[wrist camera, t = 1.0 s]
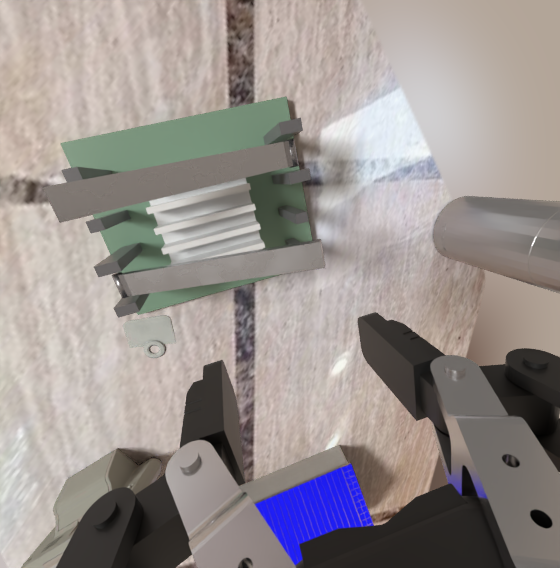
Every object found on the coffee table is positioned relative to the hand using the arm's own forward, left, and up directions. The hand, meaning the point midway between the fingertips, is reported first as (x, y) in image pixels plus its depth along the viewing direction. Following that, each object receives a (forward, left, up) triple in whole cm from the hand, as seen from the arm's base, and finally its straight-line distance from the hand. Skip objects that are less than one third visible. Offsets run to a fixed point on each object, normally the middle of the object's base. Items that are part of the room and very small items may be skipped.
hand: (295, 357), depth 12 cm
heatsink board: (+3, -4, -27) cm, 28 cm away
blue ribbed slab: (+4, +51, -28) cm, 58 cm away
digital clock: (+29, +31, -28) cm, 51 cm away
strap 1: (+3, -8, -16) cm, 18 cm away
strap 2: (+4, 0, -16) cm, 16 cm away
